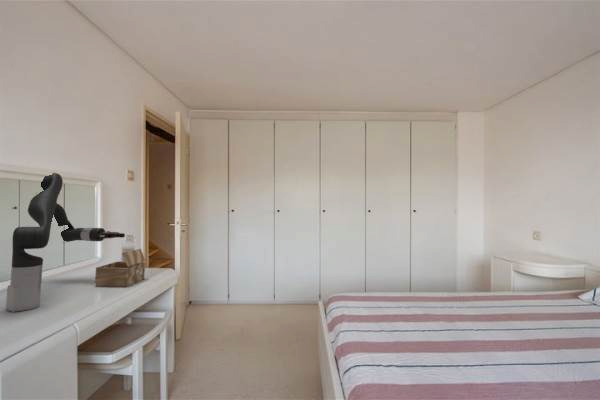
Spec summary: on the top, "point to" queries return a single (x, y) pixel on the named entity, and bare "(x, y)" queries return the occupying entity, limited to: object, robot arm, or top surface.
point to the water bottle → (127, 246)
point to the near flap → (133, 257)
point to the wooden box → (119, 274)
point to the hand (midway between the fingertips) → (123, 235)
